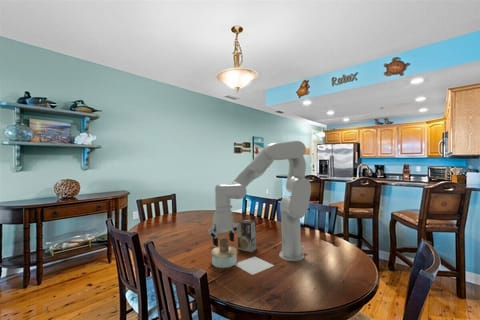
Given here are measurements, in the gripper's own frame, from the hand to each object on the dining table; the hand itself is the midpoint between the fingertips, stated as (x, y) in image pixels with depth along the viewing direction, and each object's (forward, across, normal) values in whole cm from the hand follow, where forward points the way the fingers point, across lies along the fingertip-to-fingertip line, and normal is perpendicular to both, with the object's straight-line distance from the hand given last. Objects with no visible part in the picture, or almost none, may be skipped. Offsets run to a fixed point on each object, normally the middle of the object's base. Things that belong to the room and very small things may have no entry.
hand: (223, 243), depth 119 cm
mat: (+10, -9, +12) cm, 18 cm away
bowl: (+10, 0, 0) cm, 10 cm away
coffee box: (+10, -20, -6) cm, 23 cm away
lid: (+5, 0, 0) cm, 5 cm away
